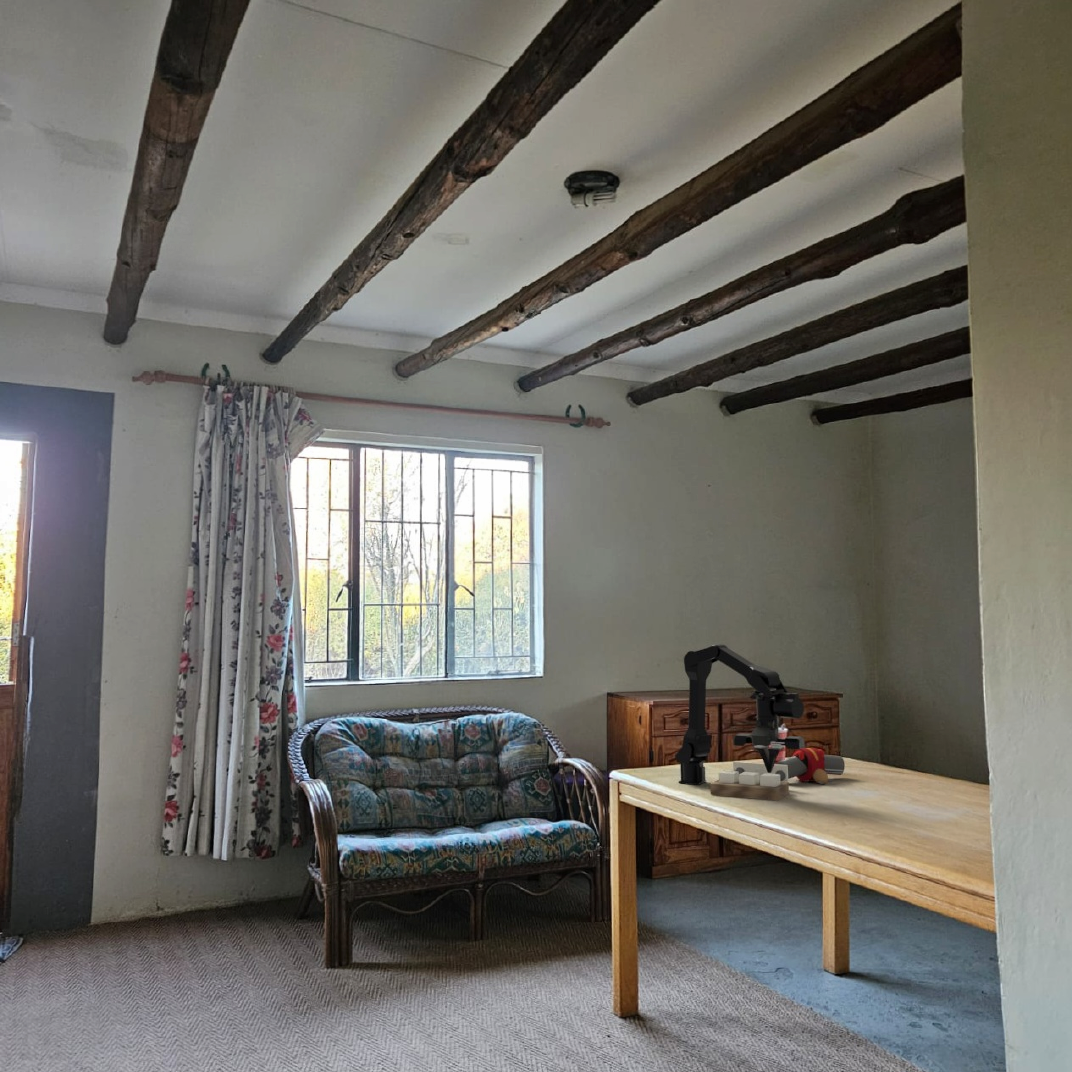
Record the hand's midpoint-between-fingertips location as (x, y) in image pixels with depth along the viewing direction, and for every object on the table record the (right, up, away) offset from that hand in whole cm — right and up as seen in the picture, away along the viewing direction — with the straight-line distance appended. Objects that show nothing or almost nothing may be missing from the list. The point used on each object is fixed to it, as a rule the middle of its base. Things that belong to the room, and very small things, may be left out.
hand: (769, 772), depth 256 cm
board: (-5, -7, +2) cm, 9 cm away
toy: (+17, -8, +21) cm, 28 cm away
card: (0, -7, +11) cm, 13 cm away
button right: (0, -5, 0) cm, 5 cm away
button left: (-10, -5, +6) cm, 13 cm away
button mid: (-5, -5, +3) cm, 8 cm away
